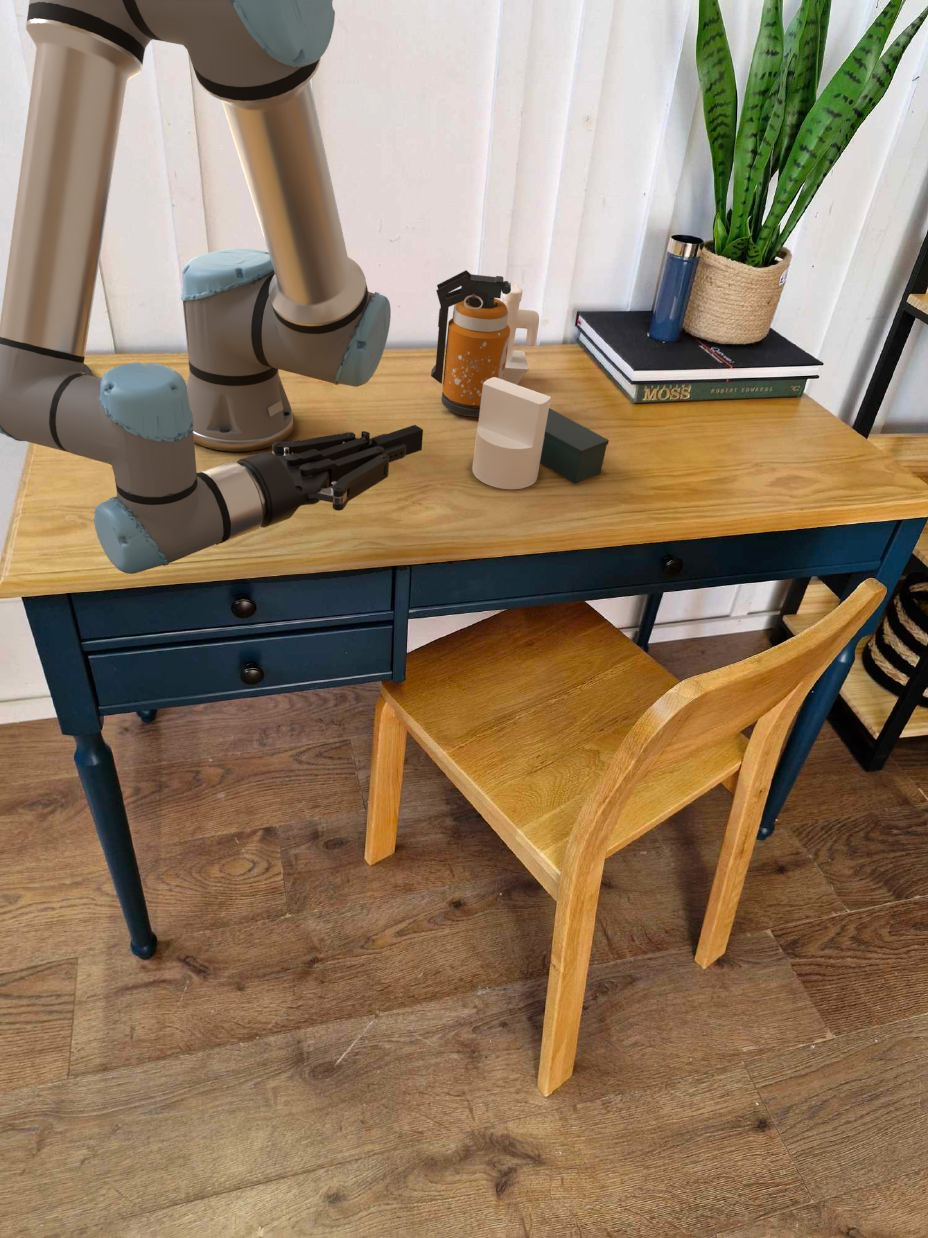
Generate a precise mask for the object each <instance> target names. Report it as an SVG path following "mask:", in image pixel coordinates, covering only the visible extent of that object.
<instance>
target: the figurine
mask: <svg viewBox="0 0 928 1238" xmlns="http://www.w3.org/2000/svg"><path fill="white" fill-rule="evenodd" d="M523 291H524V290H523V288H521V287H519V285H518V284H512V283H511V291H510V293H509V294H503V293H502V300H503V301H502V302H503V303H504V304H505V305H506V307H507V310H508V321H507V325H508V326H509V327H510V335H509V343H508V350H507V358H506V365H505V373H504V380H505V381H508V382H510V383H513V384H516V385H519V383H520V382H521V381H522V379H523V378H524V377H525V375H526V374H527V373H528V372H529V370H530V367H529V364H528V361H527V357H526V354H525V351H524V350H515V349H514V346H515V340H516V331H517V329H526V337H525V343H526V345H527V346H529V347H534V346H535V345H536V344H537V338H538V332H539V326H540V315H539V313H538V312H537V311H535V310H530V309H520V305H521V302H522V299H523Z"/></svg>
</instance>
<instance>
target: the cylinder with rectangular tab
mask: <svg viewBox="0 0 928 1238" xmlns="http://www.w3.org/2000/svg"><path fill="white" fill-rule="evenodd" d="M551 398H552V397H551V396H550V395H547V394H544V393H541V392H538V391H536V390H533V389H530V388H527V387H524V386H521V385H519V384H517V385H516V384H513V383H510V382H508V381H505V380H502V379H499V378H496V377H492V378H490V379H488V380H486V381H485V382H484V383H483V388H482V396H481V405H480V413H479V416H478V423H477V428H476V434H475V443H474V449H473V458H472V468H471V469H472V474H473V475H474V477H475V478H476V479H477V480H478V481H479V482H482V483H483V484H486V485H488V486H490V487H494V488H497V489H503V490H520V489H525V488H529V487H531V486H532V485H534V484H535V483H536V482H537V480H538V477H539V476H538V475H539V469H540V465H541V463H540V459H541V453H542V447H543V441H544V434H545V428H546V422H547V416H548V410H549V408H550V404H551Z"/></svg>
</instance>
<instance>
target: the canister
mask: <svg viewBox="0 0 928 1238" xmlns="http://www.w3.org/2000/svg"><path fill="white" fill-rule="evenodd" d="M511 284H512V283H511V282H509V281H508V280H504V277H503V276H502V275H496V276H491V275H481V274H472V273H470V271H468V270H467V269H465V270H464V271H462V272H459V273H458V274H456V275H454V276H452V277H450V278H448V279H446V280H444V281H442V282H440V283H438V284H436V287H437V289H436V296H437V298H438V302H439V305H440V308H439V311H438V321H437V327H438V332H437V344H436V345H437V346H436V347H437V348H436V356H435V365H434V366H433V367H432V368H431V372H430V377H431V378H433V379H434V381H435V380H436V381H437V382H438V383H439V384H441V385H442V392H441V403H442V406H443V407H445V409H447V410H449V411H450V412H453V413H456V414H458V415H461V416H465V417H472V418H473V417H474V418H475V417H476V418H477V417H478V418H479V413H480V405H481V396H482V388H483V383H484V382H485V381H486V380H488V379H490V378H492V377H496V378H499V379H502V380H504V373H505V365H506V358H507V350H508V343H509V335H510V327H509V326H508V325H507V321H508V310H507V307H506V305H505V304H504V303H503V302H504V301H502V300H500V299H501V297H502V295H503V294H509V293H510V291H511ZM452 306H453V311H452V317H451V319H449V308H450V307H452ZM448 319H449V321H448Z"/></svg>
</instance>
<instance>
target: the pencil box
mask: <svg viewBox="0 0 928 1238" xmlns="http://www.w3.org/2000/svg"><path fill="white" fill-rule="evenodd" d="M609 442H610V440H609V439H608V438H605V437H604V436H602V435H600V434H598V433H596V432H595V431H593V430H591V429H589V428H587V427H586V426H583V425H582V424H580V423H578V422H576V421H574V420H572V419H570V418H568V417H567V416H565V415H562V414H561V413H559V412H558V411H555V410H553V409H551V408H550V407H549V410H548V416H547V422H546V428H545V434H544V441H543V447H542V453H541V459H540V465H542V466H544V467H546V468H547V469H548V470H550V471H553V472H554V473H556V474H558V475H559V476H561V477H563V478H565V479H566V480H568V481H569V482H571V483H573V484H577V483H579V482H582V481H584V480H587V479H589V478H591V477H594V476H596V475H598V474H601V473H602V470H603V465H604V460H605V455H606V450H607V446H608V445H609Z"/></svg>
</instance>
